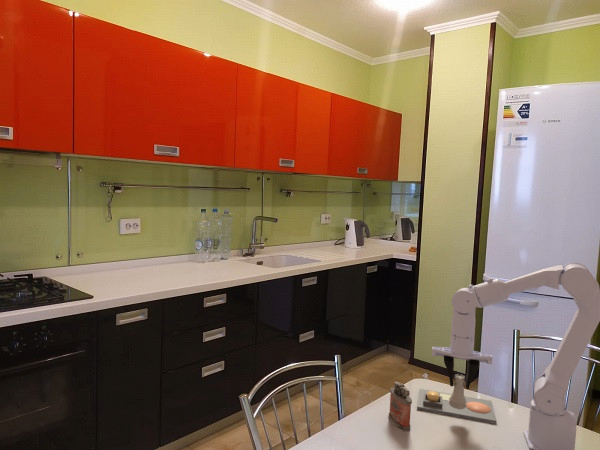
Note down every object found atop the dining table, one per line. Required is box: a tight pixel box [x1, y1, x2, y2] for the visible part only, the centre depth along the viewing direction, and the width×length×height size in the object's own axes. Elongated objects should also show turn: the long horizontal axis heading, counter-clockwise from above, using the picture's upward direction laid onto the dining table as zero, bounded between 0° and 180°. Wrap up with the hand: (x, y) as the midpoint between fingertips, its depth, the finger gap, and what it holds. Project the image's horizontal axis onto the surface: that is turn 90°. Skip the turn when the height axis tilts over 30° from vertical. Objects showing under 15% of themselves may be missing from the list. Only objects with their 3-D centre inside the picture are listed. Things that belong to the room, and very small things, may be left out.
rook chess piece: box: [449, 373, 467, 409], centre depth 114 cm, size 4×4×8 cm
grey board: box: [416, 388, 497, 425], centre depth 123 cm, size 20×12×2 cm, turn 72°
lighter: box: [388, 381, 413, 432], centre depth 112 cm, size 8×3×10 cm, turn 17°
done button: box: [427, 390, 439, 402], centre depth 122 cm, size 3×3×2 cm
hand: (459, 386), depth 114 cm, fingers closed on rook chess piece, 3 cm apart
